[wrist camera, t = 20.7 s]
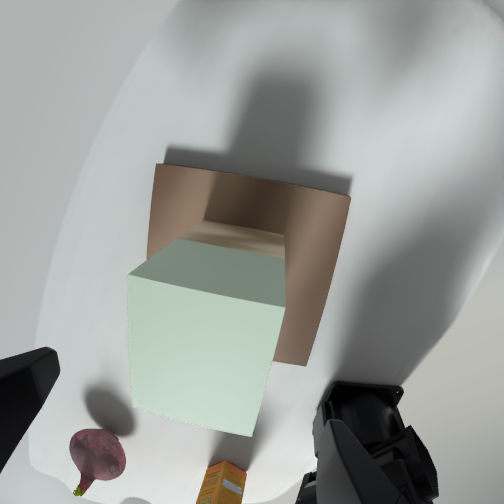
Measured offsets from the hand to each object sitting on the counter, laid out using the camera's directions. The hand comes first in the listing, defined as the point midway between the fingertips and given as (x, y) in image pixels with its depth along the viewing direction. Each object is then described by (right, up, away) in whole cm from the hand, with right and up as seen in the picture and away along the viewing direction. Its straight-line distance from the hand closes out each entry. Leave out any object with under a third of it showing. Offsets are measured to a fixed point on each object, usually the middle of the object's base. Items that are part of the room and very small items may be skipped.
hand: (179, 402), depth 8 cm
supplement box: (-1, -19, +19) cm, 27 cm away
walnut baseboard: (+1, +3, +12) cm, 13 cm away
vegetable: (-13, -15, +19) cm, 28 cm away
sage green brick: (+1, +2, +6) cm, 7 cm away
